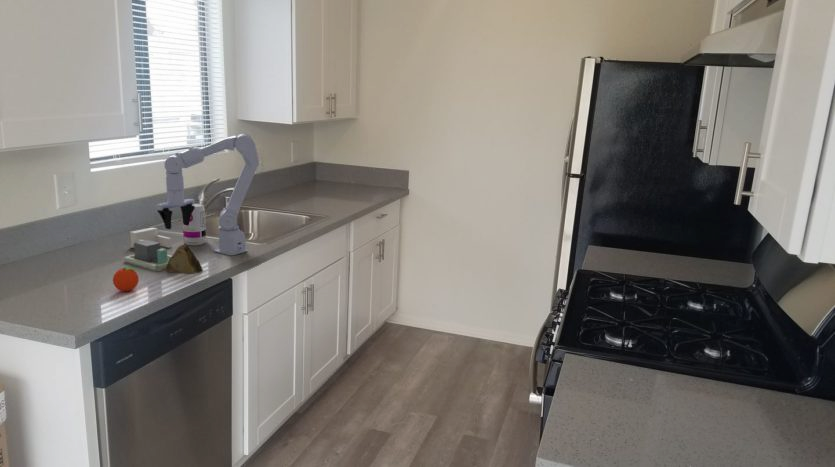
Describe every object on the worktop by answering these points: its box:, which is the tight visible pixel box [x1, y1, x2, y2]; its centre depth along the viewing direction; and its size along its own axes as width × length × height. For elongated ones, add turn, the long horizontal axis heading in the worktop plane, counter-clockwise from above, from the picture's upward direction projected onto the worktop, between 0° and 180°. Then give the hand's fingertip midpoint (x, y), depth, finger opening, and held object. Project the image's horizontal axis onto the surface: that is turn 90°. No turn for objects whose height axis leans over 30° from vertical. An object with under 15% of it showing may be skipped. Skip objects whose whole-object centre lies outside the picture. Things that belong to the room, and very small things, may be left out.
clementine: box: [112, 267, 142, 292], centre depth 180 cm, size 8×7×7 cm
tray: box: [123, 254, 173, 272], centre depth 208 cm, size 18×11×2 cm, turn 59°
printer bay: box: [129, 227, 172, 249], centre depth 226 cm, size 10×9×6 cm
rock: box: [165, 244, 204, 274], centre depth 200 cm, size 11×9×10 cm
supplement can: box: [181, 203, 207, 246], centre depth 233 cm, size 8×8×15 cm
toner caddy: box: [133, 240, 168, 264], centre depth 207 cm, size 12×5×6 cm, turn 59°
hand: (177, 226), depth 218 cm, fingers open, 7 cm apart
